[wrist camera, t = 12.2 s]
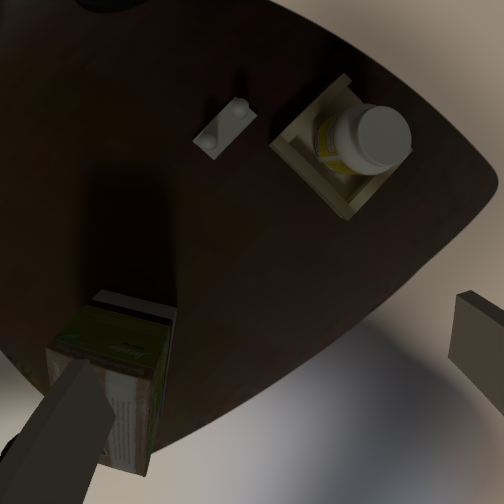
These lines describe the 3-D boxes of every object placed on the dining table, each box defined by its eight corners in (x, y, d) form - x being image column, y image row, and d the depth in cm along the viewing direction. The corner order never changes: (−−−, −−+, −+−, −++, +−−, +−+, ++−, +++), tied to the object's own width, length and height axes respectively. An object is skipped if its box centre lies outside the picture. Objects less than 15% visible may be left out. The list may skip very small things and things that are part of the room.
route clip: (193, 141, 31) (187, 137, 27) (235, 97, 30) (235, 88, 26) (214, 160, 32) (211, 158, 28) (256, 116, 31) (259, 109, 27)
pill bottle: (375, 154, 32) (432, 152, 21) (332, 184, 32) (377, 193, 22) (345, 106, 30) (392, 83, 20) (299, 135, 31) (332, 120, 20)
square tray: (340, 216, 34) (348, 220, 31) (268, 145, 32) (271, 143, 29) (401, 150, 32) (412, 150, 30) (336, 79, 30) (344, 72, 27)
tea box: (167, 398, 39) (146, 481, 25) (99, 380, 38) (60, 453, 24) (180, 304, 36) (151, 383, 22) (101, 284, 35) (38, 347, 20)
